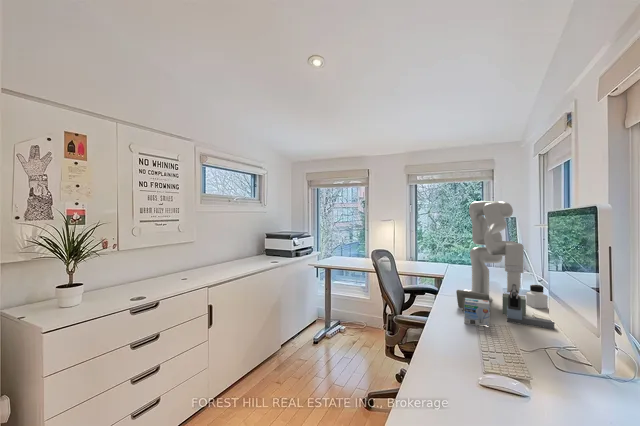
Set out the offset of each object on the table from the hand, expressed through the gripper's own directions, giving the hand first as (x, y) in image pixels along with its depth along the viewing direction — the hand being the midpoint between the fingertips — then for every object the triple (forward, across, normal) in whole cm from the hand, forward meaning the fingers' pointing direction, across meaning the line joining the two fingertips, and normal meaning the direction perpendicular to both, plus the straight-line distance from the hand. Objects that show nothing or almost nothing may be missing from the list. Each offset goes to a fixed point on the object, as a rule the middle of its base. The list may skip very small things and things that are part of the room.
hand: (513, 304), depth 143 cm
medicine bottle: (+9, -36, +11) cm, 38 cm away
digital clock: (+9, -7, -18) cm, 22 cm away
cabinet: (+9, -14, 0) cm, 16 cm away
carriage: (+6, 0, 0) cm, 6 cm away
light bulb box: (+9, +12, -15) cm, 21 cm away
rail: (+8, 0, +6) cm, 11 cm away
